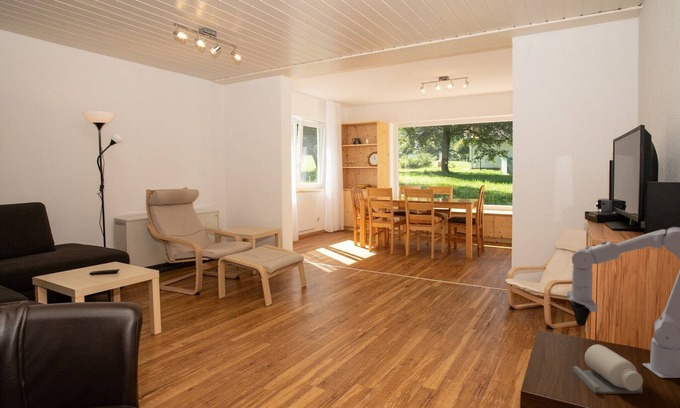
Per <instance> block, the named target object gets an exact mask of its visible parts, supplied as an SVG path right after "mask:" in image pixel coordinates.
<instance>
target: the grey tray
mask: <svg viewBox="0 0 680 408" xmlns="http://www.w3.org/2000/svg"><path fill="white" fill-rule="evenodd" d="M572 373H573V374H574V375H575V376H576V377H577V378H578V379H579V380H580V381H581V382H582V383H583V384H584V385H585V386H586V387H588V389H589V390H590V391H591V392H592V393H593V394H594V395H595V394H605V395H606V394H607V395H608V394H643V385H642V386H641V387H640V388H639V389H638V390H635V391H630V390H628V389H626V388H620V387H617V386H615V385H613V384H612V383H611V382H609V381H608V380H606V379H605V378H604V377H602V376H601V375H600V374H598V373H597V372H595V371H594V370H593V369H591V370H590V369H586V370H583V369H581V368H580V367H578V366H577V365H573V367H572Z"/></svg>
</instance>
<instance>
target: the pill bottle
mask: <svg viewBox="0 0 680 408" xmlns="http://www.w3.org/2000/svg"><path fill="white" fill-rule="evenodd" d="M584 361H585V364H586V365H587V366H588V367H589V368H590V369H591V370H594V371H595V372H597V373H598V374H600V375H601V376H602V377H604V378H605V379H606V380H608V381H609V382H611V383H612V384H613V385H615V386H617V387H620V388H626V389H628V390H630V391H635V390H638V389H639V388H640V387H641V386H643V383H644V380H643V376H642V375H641V374H640V373H639V372H638V370H637V367H636V366H635V365H634V364H633V363H632V362H631V361H630V360H628V359H626V358H624V357H623V356H621V355H619V353H616V352H615V351H613V350H611V349H610V348H608V347H606V346H604V345H602V344H599V343H597V344H593V345H591V346H590V347H588V348H587V349H586V351H585V354H584Z"/></svg>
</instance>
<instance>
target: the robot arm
mask: <svg viewBox="0 0 680 408" xmlns="http://www.w3.org/2000/svg"><path fill="white" fill-rule="evenodd" d="M648 247H652V248H656V249H659V250H662V249H663V247H665V249H666V250H667V251H669V252H670V253H671V254H673V255H674V256H676V258H677V259H678V261H680V227H679V226H672V227H669V228H668V229H666V228H665V229H659V230H655V231H652V232H648V233H644V234H641V235H638V236H635V237H632V238H630V239H626V240H624V241H620V242H618V243H617V242H613V241H610V240H609V241H606V240H603V241H601V242H600V243H599V244H596V245H593V246H585V247H584V248H580V249H577V250H575V252H574V254H572V257H571V263H572V278H571V279H572V283H571V285H572V286H571V291H570V290H569V291H567V292H566V293H567V295H566V296H567V298H568V300H569V301H570V303H569V306H570V308H571V309H572V310H573V314H574V319H575V323H576V325H577V326H586V323H587V320H588V318H589V316H590V314H591V313H592V312H593V313H595V312H597V313H598V305H597V304H596V303H595V301H594V299H593V296H592V295H593V267H592V266H593V265H600V264H603V263H606V262H610V261H613V260H618V259H619V257H620V256H621V254H623V253H627V252H632V251H636V250H642V249H644V248H648ZM653 328H654V332H653V337H652V338H651V341H650V359H649V361H650V362H648V363H646V362H645V363H644V362H643V363H642V366H644V367H645V368H646V369H648V370H649V371H651V372H652V373H653V374H655V375H656V376H658V377H659V378H661V379H669V378H670V379H677V378H678V379H679V378H680V269H679V271H678V273H677V276H676V278H675V281H674V284H673V286H672V289H671V291H670V295H669V298H668V299H667V303H666V305H665V307H664V310H663V312H662V314H661V316H660V317H659V318H658V319H656V320H655V321H654V323H653Z"/></svg>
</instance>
